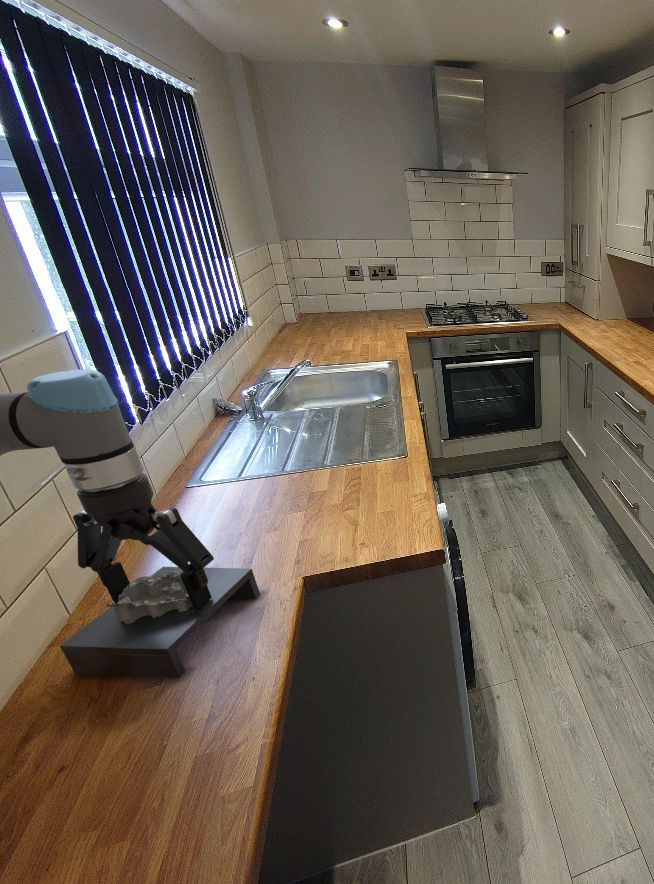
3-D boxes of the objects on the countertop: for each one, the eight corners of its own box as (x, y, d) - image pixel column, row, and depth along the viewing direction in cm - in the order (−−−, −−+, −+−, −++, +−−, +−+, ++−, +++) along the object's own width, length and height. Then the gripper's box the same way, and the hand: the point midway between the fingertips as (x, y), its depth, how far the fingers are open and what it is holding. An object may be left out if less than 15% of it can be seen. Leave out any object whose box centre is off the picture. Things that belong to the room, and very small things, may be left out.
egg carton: (111, 628, 77) (100, 606, 76) (134, 596, 84) (125, 575, 82) (196, 611, 80) (187, 589, 79) (212, 581, 87) (204, 560, 85)
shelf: (75, 674, 76) (59, 646, 74) (173, 591, 93) (162, 566, 91) (179, 678, 76) (166, 649, 73) (260, 593, 92) (251, 568, 90)
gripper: (1, 492, 71) (68, 617, 79) (172, 494, 69) (221, 621, 78) (56, 467, 77) (112, 584, 86) (213, 469, 76) (254, 588, 85)
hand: (164, 602), depth 82 cm, fingers closed on egg carton, 12 cm apart
